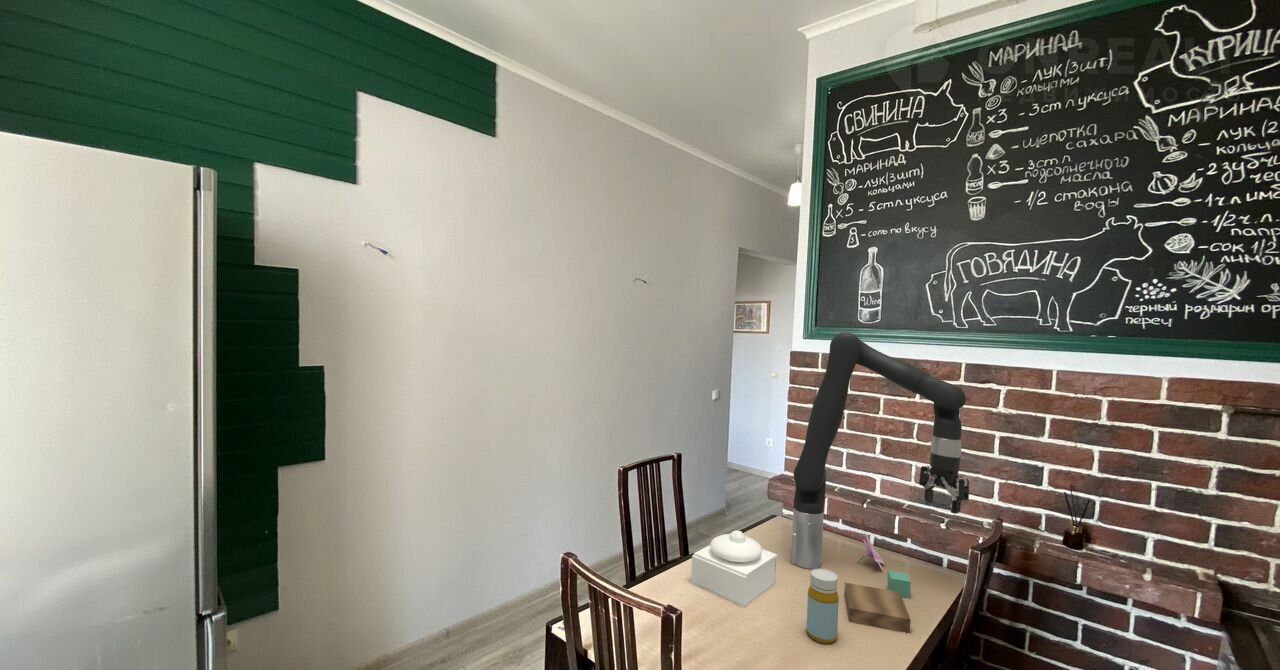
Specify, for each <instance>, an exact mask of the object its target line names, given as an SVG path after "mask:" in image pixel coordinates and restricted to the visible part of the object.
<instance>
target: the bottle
mask: <svg viewBox="0 0 1280 670" xmlns="http://www.w3.org/2000/svg"><path fill="white" fill-rule="evenodd" d="M809 575H810V579H809V580H810V585H809V588H808V589H807V607H806V633H807V634H808V636H809V637H810V638H811V639H812V640H814V641H816V642H817V643H819V644H820V643H821V644H826V645H827V644H832V643H834V642H835V641H836V640H837V638H838V625H839V624H838V623H839V604H840V603H839V599H840V597H839V593H838V576H837V574H836V573H835V572H833V571H832V570H828V569H824V568H816V569H811V571H810V574H809Z"/></svg>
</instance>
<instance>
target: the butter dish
mask: <svg viewBox="0 0 1280 670" xmlns="http://www.w3.org/2000/svg"><path fill="white" fill-rule="evenodd" d="M777 558H778V554H776V553H774V552H772V551H768V550H766V549H764V548H762V545H760V543H759V542H758V541H756V540H755V539H753V538H752V537H749V536H747V535H745V533H743V531H741V530H734V531H732V532H731V533H725V534H721V535H718V536H716V537H714V538H713V539H712V540H711V541H710V544H709V545H707V546H705V547H703V548H700V549H699V550H697V551H695V552H694V553H693V555H691V576H690V577H691V579H690V582H691V584H692V583H693V585H694V584H695V586H696V585H697V587H699V588H700V589H701V588H702V589H703V590H705V591H707V590H708V592H709V593H712V594H714V595H716V594H717V595H716V596H718V595H719V596H718V597H720V596H721V598H722V599H725V598H726V599H725V600H727V599H728V601H729V600H730V601H729V602H731V601H732V603H733V602H734V603H733V604H735V605H738V604H739V605H738V606H740V607H742V606H743V608H745V607H746V606H748V605H749V604H750V603H752V602H753V601H754V600H756V599H757V598H759V597H760V596H761V595H763V594H764V593H765V592H767V591H769V589H771V588H772V587H774V586H775V585H776V574H777V573H776V569H777ZM762 593H763V594H762ZM759 595H760V596H759ZM755 598H756V599H755ZM751 601H752V602H751ZM748 603H749V604H748ZM744 606H745V607H744Z"/></svg>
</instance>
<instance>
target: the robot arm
mask: <svg viewBox="0 0 1280 670" xmlns="http://www.w3.org/2000/svg"><path fill="white" fill-rule="evenodd" d="M857 365H858V366H861V367H863V368H866V369H869V370H870V371H872V372H874V373H876V374H878V375H880V376H881V377H883V378H885V379H886V380H888V381H890V382H892V383H894V384H895V385H898V386H899V387H902V388H903V389H905V390H907V391H909V392H912V393H913V394H916V395H919V396H922V397H923V398H925V399H927V400H928V401H931V402H933V415H934V416H933V417H934V421H933V428H932V429H933V430H932V437H931V443H930V454H929V455H930V457H929V465H923V466H921V467H920V474H919V481H918V485H919V486H920V487H921V486H922V487H923V489H924V501H925V503H928V504H930V503H931V504H932V503H933V501H934V492H935V491H934V490H933V489H935V488H936V487H941V488H942V489H945V490H946V491H947V493H949V494H950V497H951V498H952V500H951V506H950V507H951V508H950V512H951V513H952V514H955V515H956V514H957V515H958V514H959V513H960V512H961V509H962V508H961V506H962V502H964V501H969V499H970V498H969V497H970V480H969V478H961V477H960V476H959V471H960V469H961V455H962V427H963V426H962V424H963V423H962V421H961V418H960V412H961V409H962V408H963V407H964V406H965V404H966V403H967V396H966V393H965V392H964V390H963V389H961V387H958V386H956V385H954V384H952V383H949V382H947V381H944V380H942V379H940V378H938V377H935V376H933V375H931V374H930V373H928V372H927V371H925V370H922V369H920V368H918V367H916V366H913V364H911V363H910V364H909V363H907V362H905V361H903V360H900V359H897V358H895V357H892V356H889V355H888V354H885V353H883V352H881V351H879V350H878V349H875V348H874V347H871V346H870V345H868V344H867V343H865V342H864V341H862V340H861V339H860V338H859V337H858V336H857V335H856V334H854V333H852V332H847V331H845V332H839V333H838V334H836V335H835V336H833V338H832V339H831V341H830V345H829V353H828V359H827V365H826V370H825V373H824V377H823V379H822V381H821V383H820V385H819V387H818V389H817V392H816V395H815V397H814V399H813V404H812V407H811V411H810V415H809V419H808V424H807V429H806V434H805V439H804V440H805V441H804V445H803V447H802V448H803V449H802V451H801V453H800V456H799V458H798V461H797V463H796V466H795V467H794V470H793V480H794V483H795V491H794V497H793V510H792V513H793V514H792V516H793V517H792V531H791V534H792V535H791V536H792V537H791V556H790V557H791V560H790V564H791V565H795V566H798V567H800V568H802V569H803V568H804V569H808V570H809V569H810V570H813V569H820V568H821V567H822V560H823V537H824V534H823V533H824V514H825V513H824V511H825V502H826V501H825V500H826V484H827V472H826V471H827V470H826V463H827V458H828V456H829V452H830V450H831V447H832V445H833V443H834V441H835V438H836V436H837V433H838V430H839V429H840V426H841V423H842V419H843V416H844V413H845V408H846V405H847V399H848V394H849V393H848V392H849V388H850V386H849V385H850V383H851V382H850V381H851V378H852V374H853V373H854V369H855V367H856V366H857Z"/></svg>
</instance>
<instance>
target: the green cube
mask: <svg viewBox="0 0 1280 670" xmlns="http://www.w3.org/2000/svg"><path fill="white" fill-rule="evenodd" d="M886 585H887V587H886V588H887V590H891V591H896V592H900V594H901V596H902V599H908V600H910V599H911V579H910V576H909V575H908V573H905V572H899V571H892V570H887V584H886Z"/></svg>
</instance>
